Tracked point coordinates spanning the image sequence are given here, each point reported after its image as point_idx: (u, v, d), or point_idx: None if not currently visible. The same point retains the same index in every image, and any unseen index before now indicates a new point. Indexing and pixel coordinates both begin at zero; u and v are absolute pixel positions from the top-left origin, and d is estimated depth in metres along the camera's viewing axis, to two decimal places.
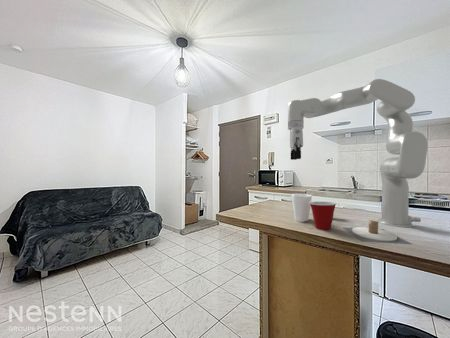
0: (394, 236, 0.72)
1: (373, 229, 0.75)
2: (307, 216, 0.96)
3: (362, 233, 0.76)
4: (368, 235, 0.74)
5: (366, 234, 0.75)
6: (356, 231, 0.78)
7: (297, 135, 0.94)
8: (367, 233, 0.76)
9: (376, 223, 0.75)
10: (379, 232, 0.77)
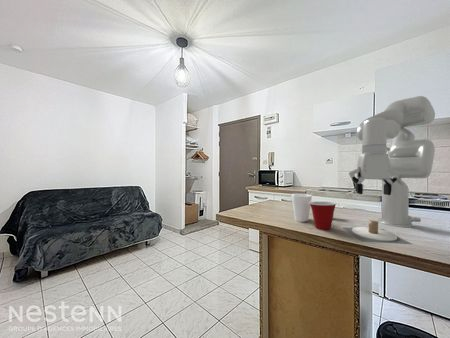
0: (394, 236, 0.73)
1: (373, 229, 0.75)
2: (307, 216, 0.96)
3: (362, 233, 0.76)
4: (368, 235, 0.74)
5: (366, 234, 0.75)
6: (356, 231, 0.78)
7: None
8: (367, 233, 0.76)
9: (376, 223, 0.75)
10: (379, 232, 0.77)
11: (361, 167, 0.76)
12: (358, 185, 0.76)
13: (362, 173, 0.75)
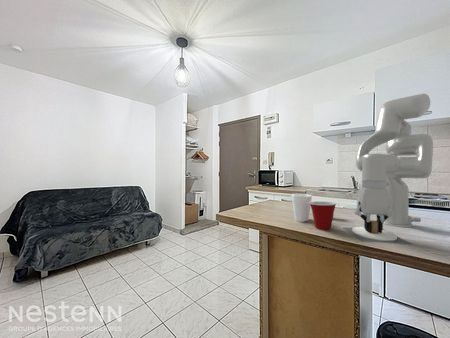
0: (394, 236, 0.73)
1: (373, 229, 0.75)
2: (307, 216, 0.96)
3: (362, 233, 0.76)
4: (369, 235, 0.74)
5: (366, 234, 0.75)
6: (356, 231, 0.78)
7: None
8: (367, 233, 0.76)
9: (376, 223, 0.75)
10: None
11: (361, 201, 0.76)
12: (367, 223, 0.76)
13: (362, 208, 0.76)
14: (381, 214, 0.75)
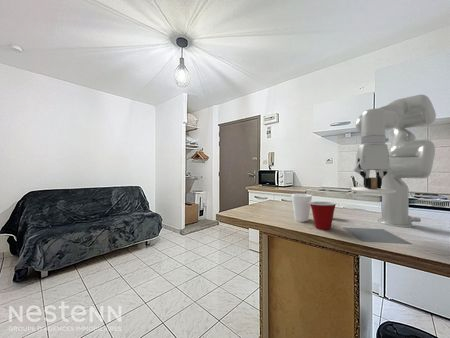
0: (393, 190, 0.72)
1: (372, 185, 0.75)
2: (307, 216, 0.96)
3: (361, 189, 0.76)
4: None
5: (365, 189, 0.74)
6: (355, 188, 0.78)
7: None
8: (366, 189, 0.76)
9: (375, 178, 0.75)
10: None
11: (360, 157, 0.76)
12: (366, 179, 0.76)
13: (361, 164, 0.75)
14: (380, 169, 0.74)
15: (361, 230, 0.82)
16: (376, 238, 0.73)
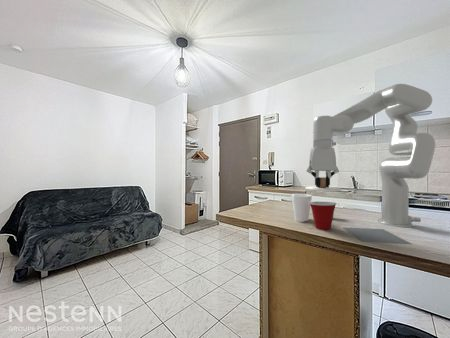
0: (338, 188, 0.81)
1: (321, 184, 0.84)
2: (307, 216, 0.96)
3: None
4: (316, 188, 0.82)
5: (315, 188, 0.83)
6: (308, 187, 0.86)
7: None
8: None
9: (324, 178, 0.84)
10: None
11: (311, 159, 0.85)
12: (316, 179, 0.85)
13: (312, 165, 0.84)
14: (328, 170, 0.83)
15: (361, 230, 0.82)
16: (376, 238, 0.73)
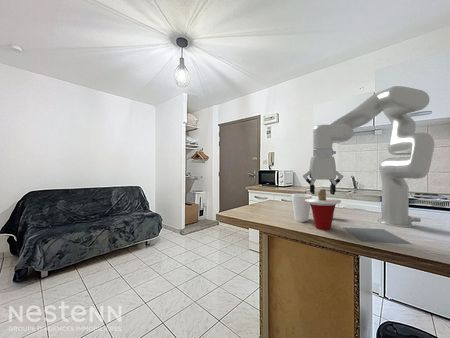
0: (338, 200, 0.81)
1: (321, 196, 0.84)
2: (307, 216, 0.96)
3: (312, 200, 0.84)
4: (316, 201, 0.83)
5: (315, 200, 0.83)
6: (308, 200, 0.87)
7: None
8: (316, 200, 0.84)
9: (323, 190, 0.84)
10: (327, 199, 0.86)
11: (311, 168, 0.85)
12: (311, 186, 0.85)
13: (312, 174, 0.84)
14: (328, 179, 0.83)
15: (361, 230, 0.82)
16: (376, 238, 0.73)
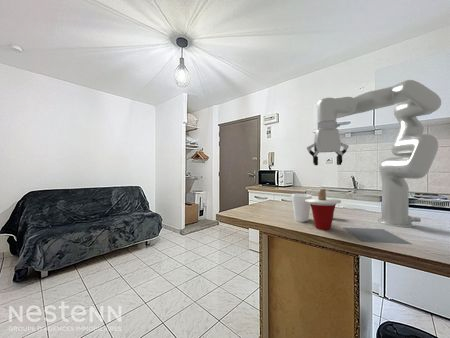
0: (338, 200, 0.81)
1: (321, 196, 0.84)
2: (307, 216, 0.96)
3: (312, 200, 0.84)
4: None
5: (315, 200, 0.83)
6: (308, 200, 0.87)
7: None
8: (316, 200, 0.84)
9: (323, 190, 0.84)
10: (327, 199, 0.86)
11: (316, 141, 0.87)
12: (314, 158, 0.88)
13: (317, 147, 0.86)
14: (333, 151, 0.85)
15: (361, 230, 0.82)
16: (376, 238, 0.73)
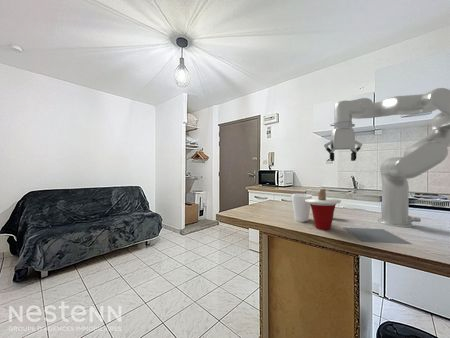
0: (338, 200, 0.81)
1: (321, 196, 0.84)
2: (307, 216, 0.96)
3: (312, 200, 0.84)
4: None
5: (315, 200, 0.83)
6: (307, 200, 0.87)
7: None
8: (316, 200, 0.84)
9: (323, 190, 0.84)
10: (327, 199, 0.86)
11: (333, 139, 0.97)
12: (331, 154, 0.98)
13: (333, 144, 0.96)
14: (348, 148, 0.95)
15: (361, 230, 0.82)
16: (376, 238, 0.73)
